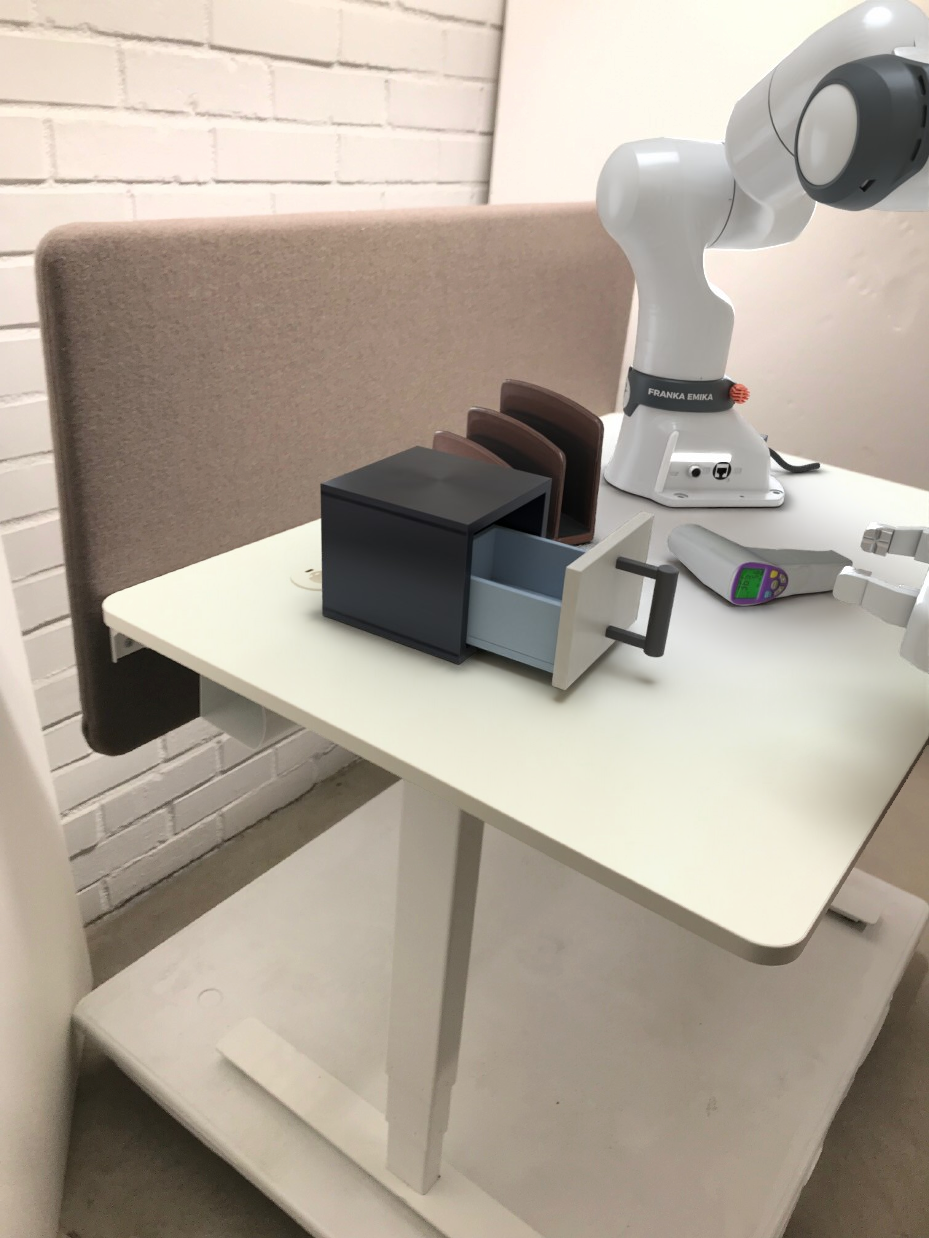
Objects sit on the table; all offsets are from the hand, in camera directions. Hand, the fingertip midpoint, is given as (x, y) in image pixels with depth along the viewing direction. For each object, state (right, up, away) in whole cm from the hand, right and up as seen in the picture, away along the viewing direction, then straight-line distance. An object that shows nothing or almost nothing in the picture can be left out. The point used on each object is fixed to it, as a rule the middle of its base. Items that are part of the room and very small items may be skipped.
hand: (851, 556), depth 60 cm
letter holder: (-21, +7, +42) cm, 47 cm away
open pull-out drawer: (-18, -6, +15) cm, 24 cm away
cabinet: (-29, -3, +21) cm, 35 cm away
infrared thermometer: (+4, 0, +32) cm, 32 cm away
